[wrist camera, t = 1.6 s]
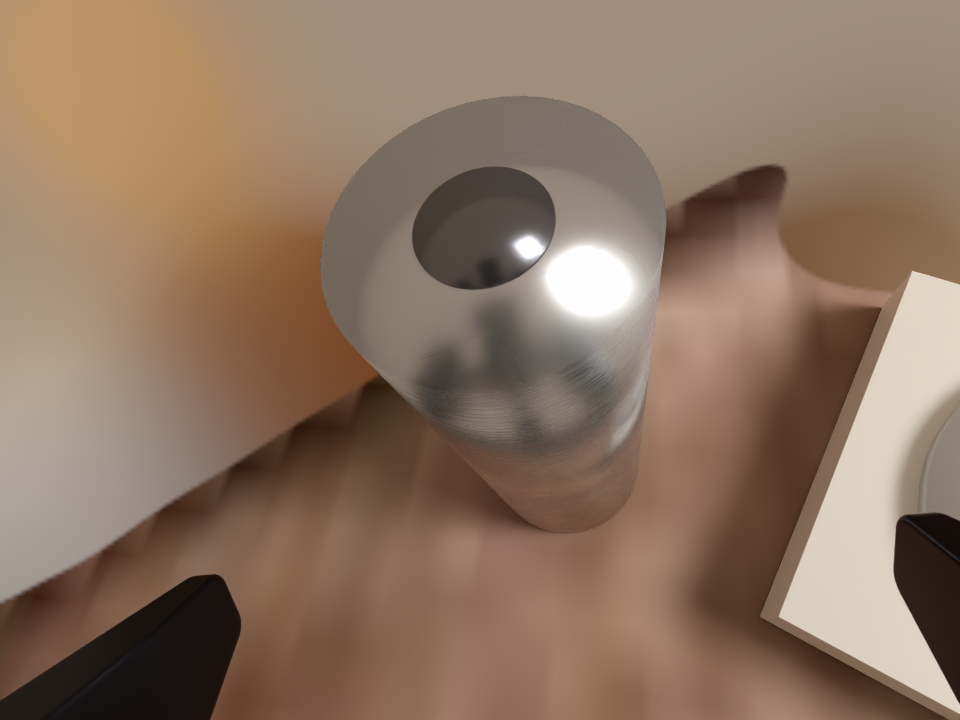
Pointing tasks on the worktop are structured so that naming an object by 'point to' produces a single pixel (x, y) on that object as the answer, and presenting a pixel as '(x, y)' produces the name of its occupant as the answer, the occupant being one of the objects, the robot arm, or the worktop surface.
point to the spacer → (510, 294)
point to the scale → (880, 497)
